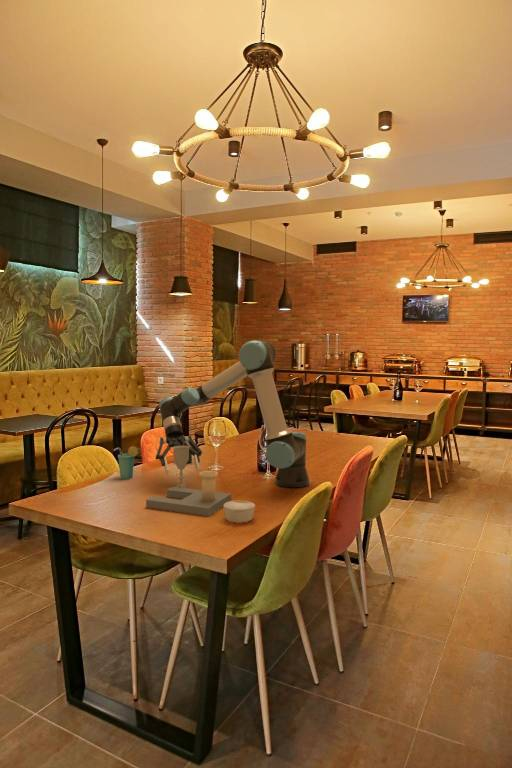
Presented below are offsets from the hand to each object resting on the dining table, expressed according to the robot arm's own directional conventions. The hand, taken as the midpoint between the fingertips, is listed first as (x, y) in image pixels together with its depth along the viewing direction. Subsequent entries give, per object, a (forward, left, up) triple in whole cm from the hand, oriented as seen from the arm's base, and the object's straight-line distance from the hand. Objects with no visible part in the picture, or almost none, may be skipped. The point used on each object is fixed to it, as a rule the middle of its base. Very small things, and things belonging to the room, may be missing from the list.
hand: (182, 470), depth 228 cm
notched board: (-11, +15, -9) cm, 21 cm away
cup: (+34, -8, -9) cm, 36 cm away
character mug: (+24, -47, -9) cm, 53 cm away
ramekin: (-35, +23, -9) cm, 43 cm away
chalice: (+2, -2, -9) cm, 9 cm away
